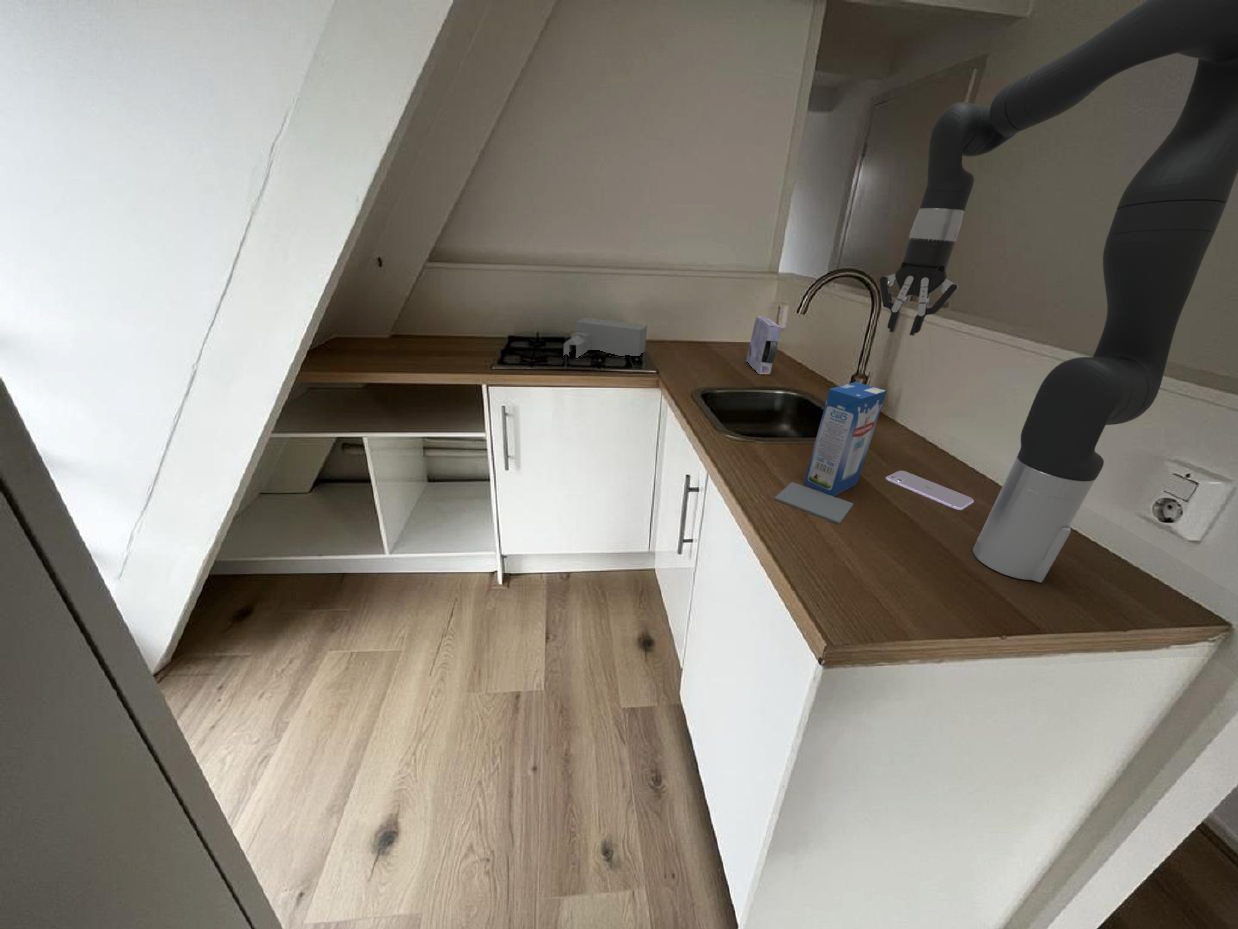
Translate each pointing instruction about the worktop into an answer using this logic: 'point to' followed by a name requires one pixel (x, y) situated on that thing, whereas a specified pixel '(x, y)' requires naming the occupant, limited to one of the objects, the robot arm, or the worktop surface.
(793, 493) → the mat
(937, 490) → the mobile phone
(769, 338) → the cake pan box
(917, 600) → the worktop surface
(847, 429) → the milk carton
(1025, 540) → the robot arm
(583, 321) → the grey toy box truck
